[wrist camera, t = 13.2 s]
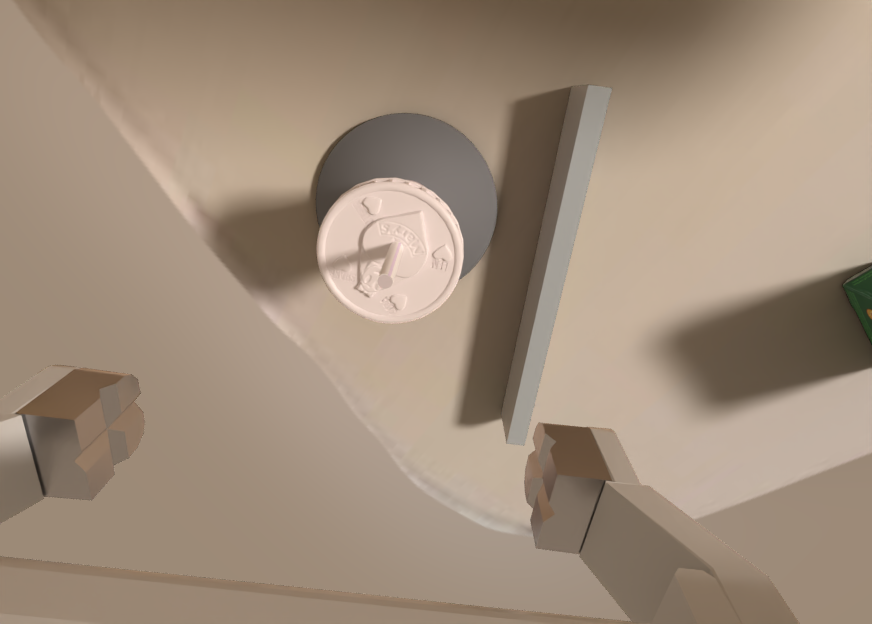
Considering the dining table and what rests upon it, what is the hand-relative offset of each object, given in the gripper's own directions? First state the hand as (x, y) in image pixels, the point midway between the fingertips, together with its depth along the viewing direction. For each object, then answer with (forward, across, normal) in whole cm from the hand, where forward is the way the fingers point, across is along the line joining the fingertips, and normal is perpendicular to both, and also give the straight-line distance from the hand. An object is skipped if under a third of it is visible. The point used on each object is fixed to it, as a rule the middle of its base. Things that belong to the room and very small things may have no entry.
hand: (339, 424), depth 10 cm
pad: (+22, 0, 0) cm, 22 cm away
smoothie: (+22, 0, 0) cm, 22 cm away
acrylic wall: (+22, -9, +3) cm, 24 cm away
